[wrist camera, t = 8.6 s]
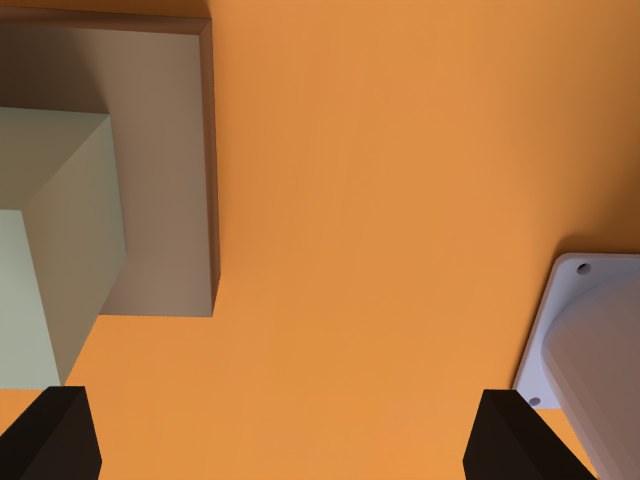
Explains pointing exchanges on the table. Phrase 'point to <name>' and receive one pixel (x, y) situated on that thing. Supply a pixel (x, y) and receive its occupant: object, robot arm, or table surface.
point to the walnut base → (135, 137)
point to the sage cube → (54, 239)
